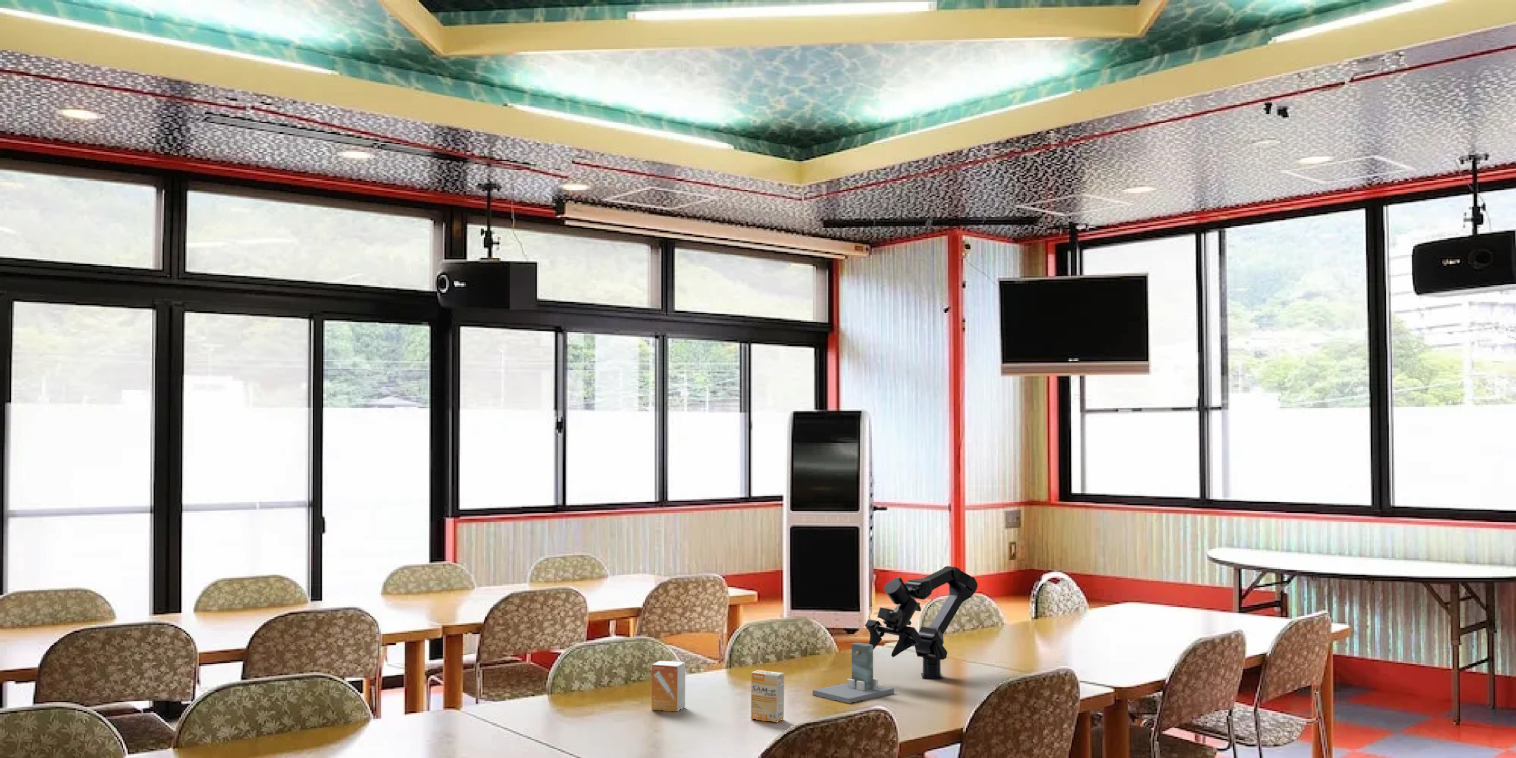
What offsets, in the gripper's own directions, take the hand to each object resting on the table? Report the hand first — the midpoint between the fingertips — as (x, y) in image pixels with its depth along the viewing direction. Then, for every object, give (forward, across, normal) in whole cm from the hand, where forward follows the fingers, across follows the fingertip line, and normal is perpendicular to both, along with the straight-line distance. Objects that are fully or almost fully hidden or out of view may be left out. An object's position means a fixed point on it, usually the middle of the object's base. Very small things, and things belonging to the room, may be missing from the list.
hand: (880, 653), depth 361 cm
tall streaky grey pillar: (+12, 0, 0) cm, 12 cm away
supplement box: (+44, +4, -31) cm, 54 cm away
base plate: (+16, 0, -1) cm, 16 cm away
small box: (+53, -25, -38) cm, 70 cm away
